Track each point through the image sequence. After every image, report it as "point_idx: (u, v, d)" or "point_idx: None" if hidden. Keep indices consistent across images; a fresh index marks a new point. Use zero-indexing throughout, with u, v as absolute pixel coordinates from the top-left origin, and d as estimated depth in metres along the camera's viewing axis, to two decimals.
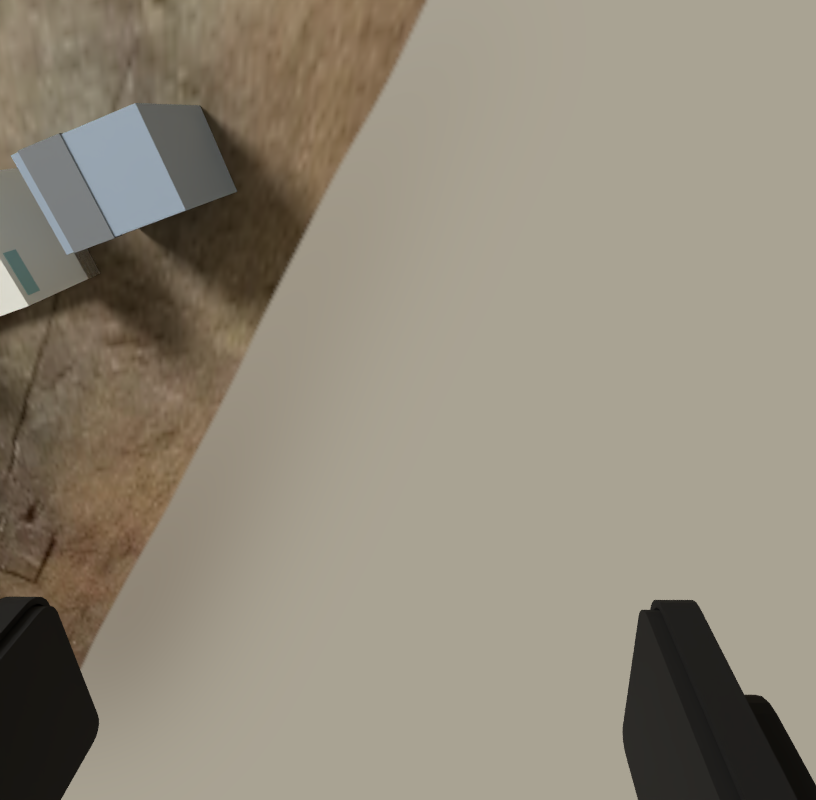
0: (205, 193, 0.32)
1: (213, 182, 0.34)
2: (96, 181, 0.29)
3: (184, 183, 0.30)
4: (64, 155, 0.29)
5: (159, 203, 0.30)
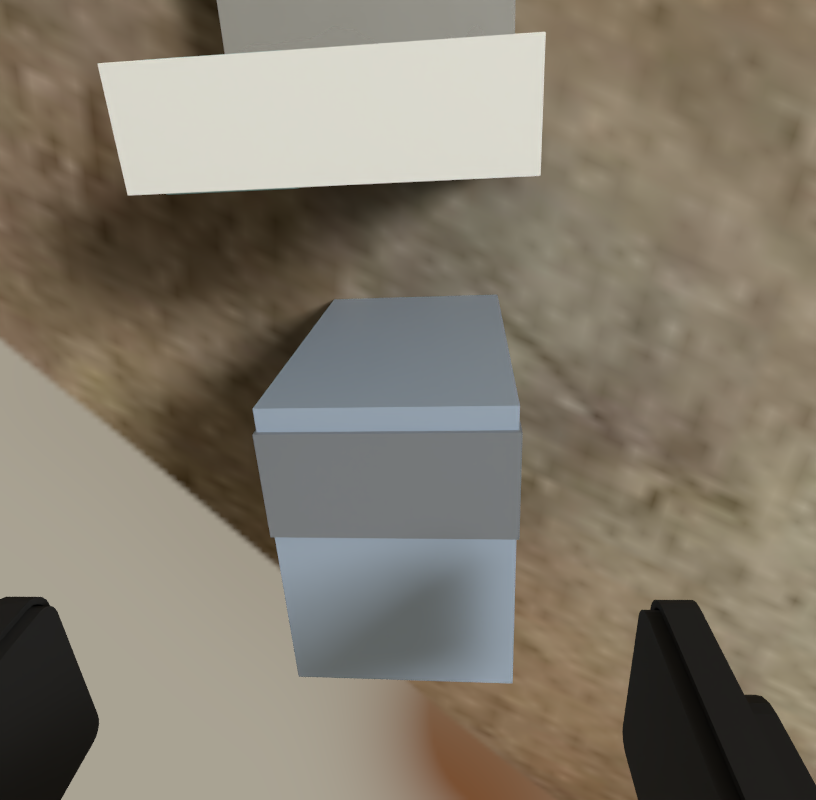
0: None
1: None
2: (400, 556, 0.13)
3: None
4: (472, 521, 0.12)
5: (322, 642, 0.14)
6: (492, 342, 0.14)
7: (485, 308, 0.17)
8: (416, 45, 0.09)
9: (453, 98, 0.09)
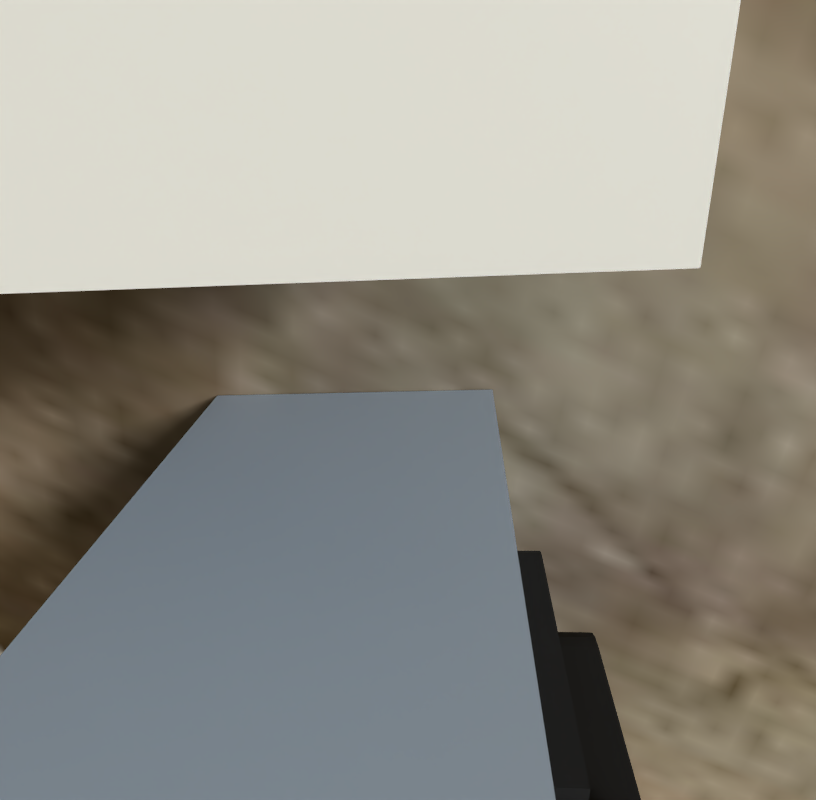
0: None
1: None
2: None
3: None
4: None
5: None
6: (487, 555, 0.07)
7: (472, 430, 0.09)
8: None
9: None
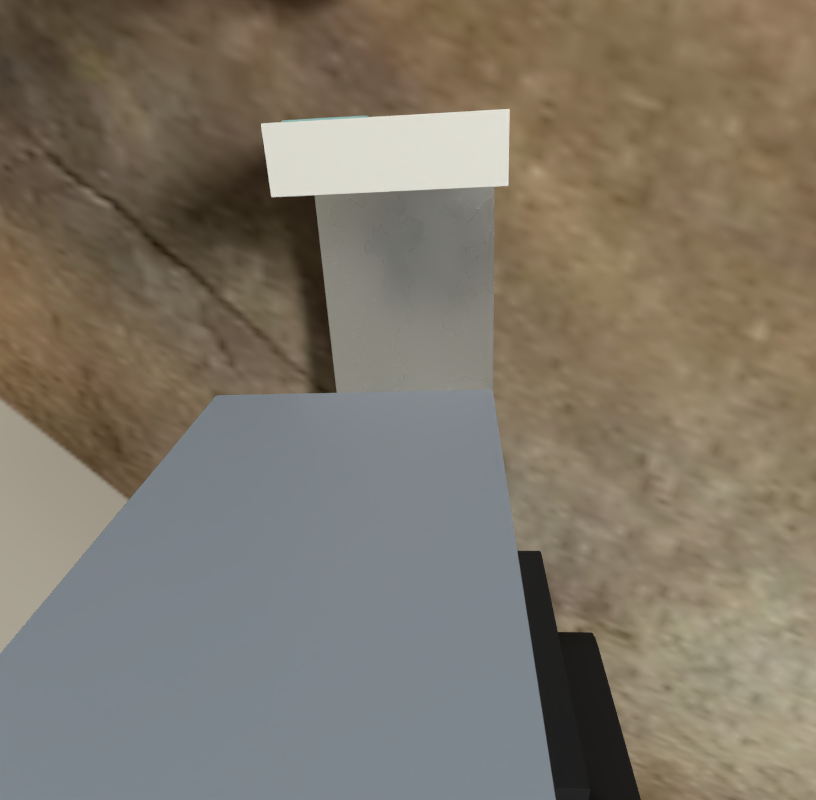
0: None
1: None
2: None
3: None
4: None
5: None
6: (487, 555, 0.07)
7: (472, 430, 0.09)
8: None
9: None
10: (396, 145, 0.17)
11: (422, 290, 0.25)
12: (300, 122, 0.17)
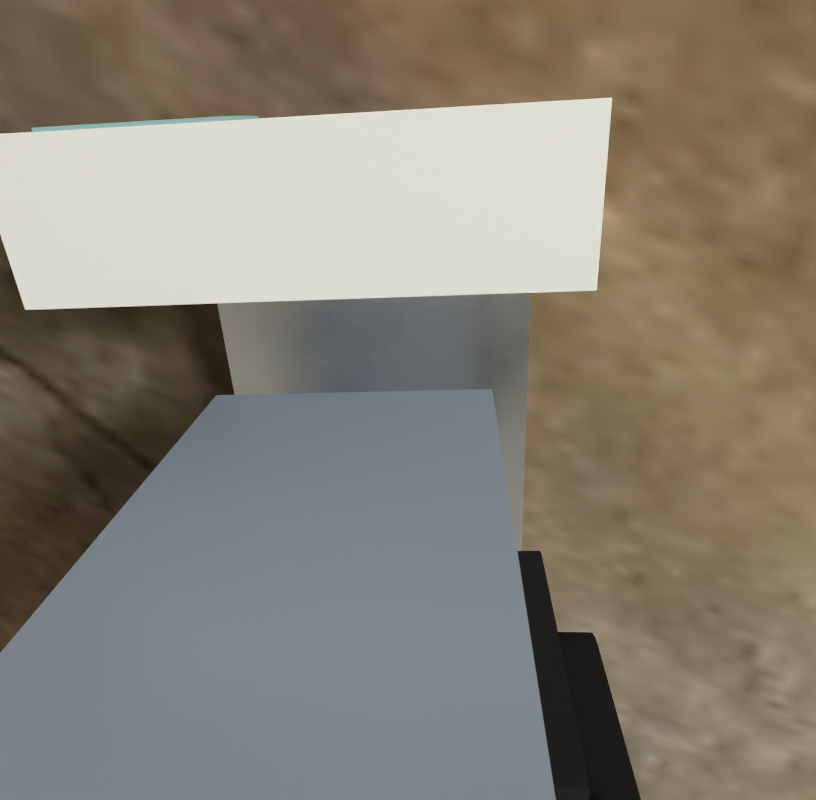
0: None
1: None
2: None
3: None
4: None
5: None
6: (486, 554, 0.07)
7: (472, 429, 0.09)
8: None
9: None
10: (312, 191, 0.07)
11: None
12: (66, 133, 0.07)
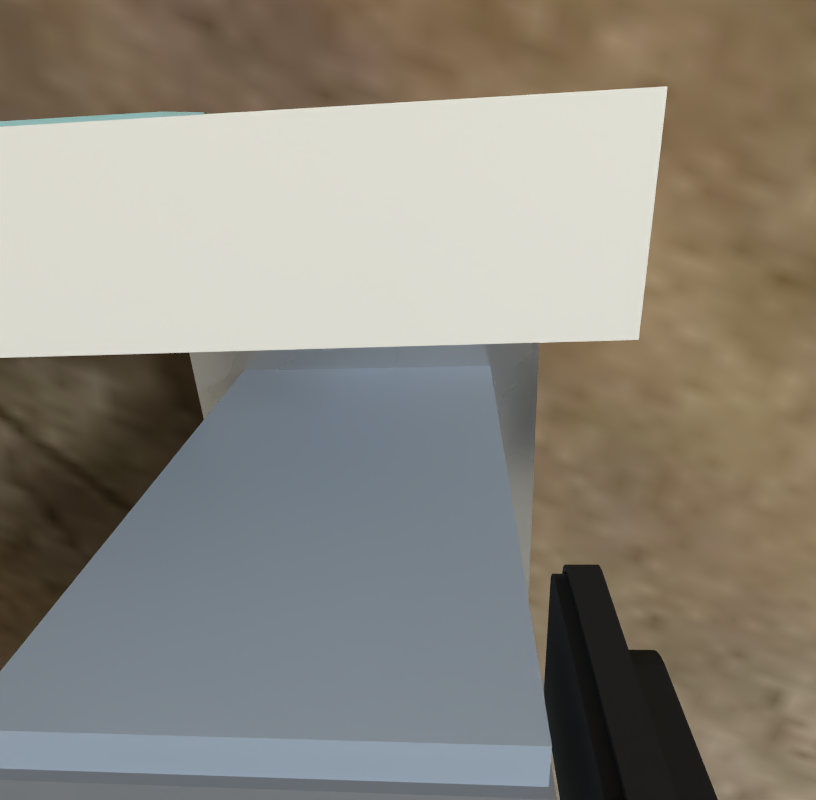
0: None
1: None
2: None
3: None
4: None
5: None
6: (485, 492, 0.08)
7: (472, 398, 0.11)
8: None
9: None
10: (266, 211, 0.05)
11: None
12: None
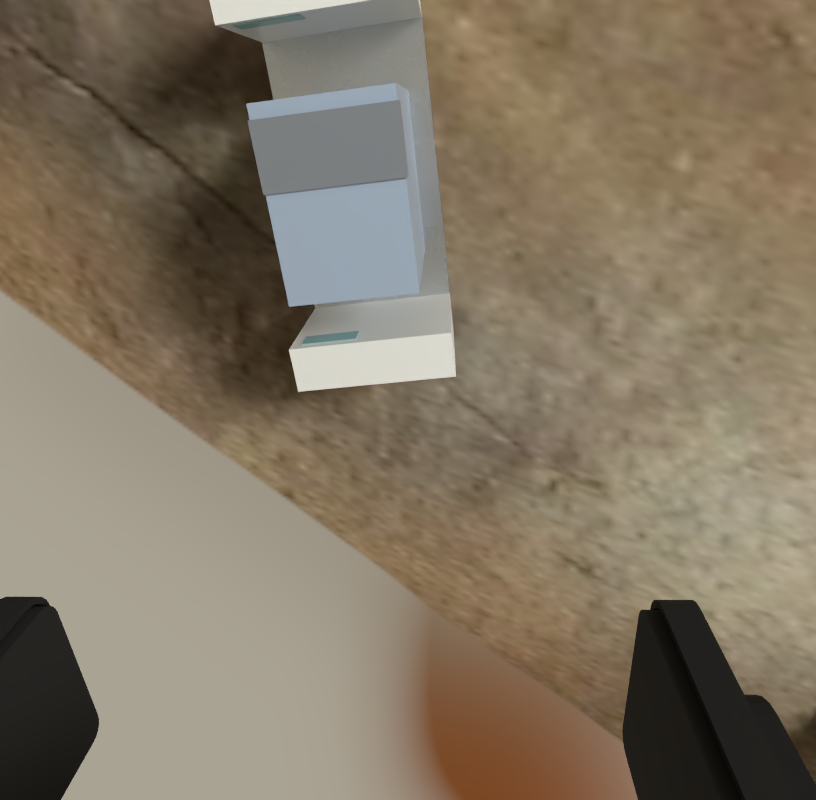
0: None
1: None
2: (340, 201, 0.21)
3: None
4: (379, 169, 0.21)
5: (301, 276, 0.22)
6: None
7: None
8: (406, 339, 0.25)
9: (420, 353, 0.26)
10: None
11: None
12: None
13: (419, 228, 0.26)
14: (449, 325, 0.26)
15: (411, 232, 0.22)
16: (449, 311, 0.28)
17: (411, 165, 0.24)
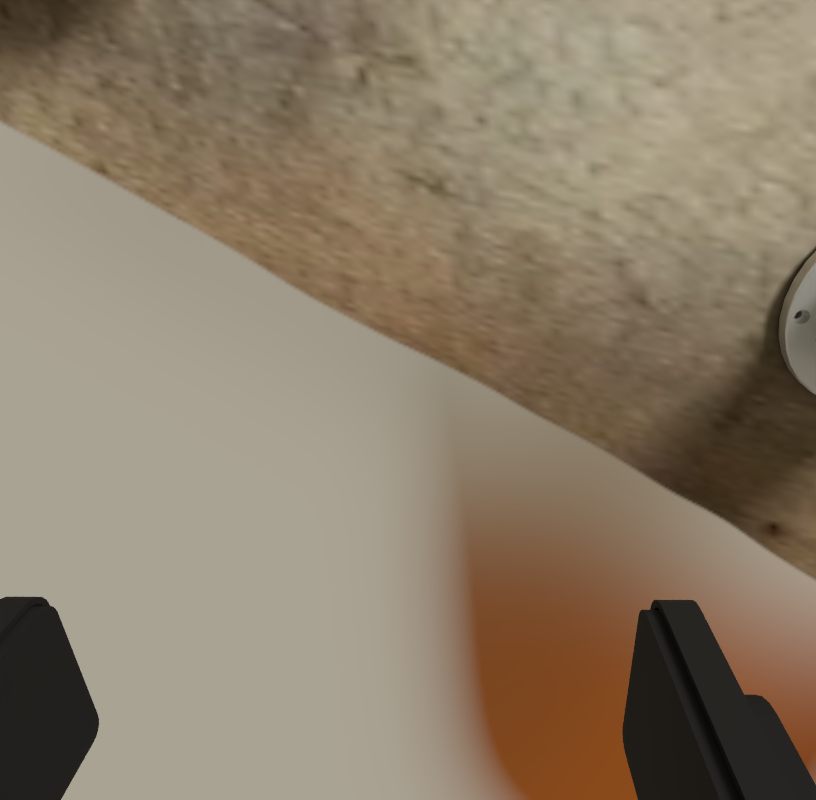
0: None
1: None
2: None
3: None
4: None
5: None
6: None
7: None
8: None
9: None
10: None
11: None
12: None
13: None
14: None
15: None
16: None
17: None
